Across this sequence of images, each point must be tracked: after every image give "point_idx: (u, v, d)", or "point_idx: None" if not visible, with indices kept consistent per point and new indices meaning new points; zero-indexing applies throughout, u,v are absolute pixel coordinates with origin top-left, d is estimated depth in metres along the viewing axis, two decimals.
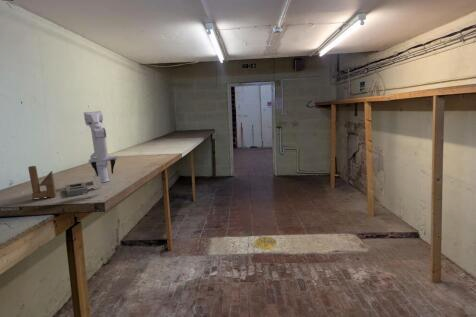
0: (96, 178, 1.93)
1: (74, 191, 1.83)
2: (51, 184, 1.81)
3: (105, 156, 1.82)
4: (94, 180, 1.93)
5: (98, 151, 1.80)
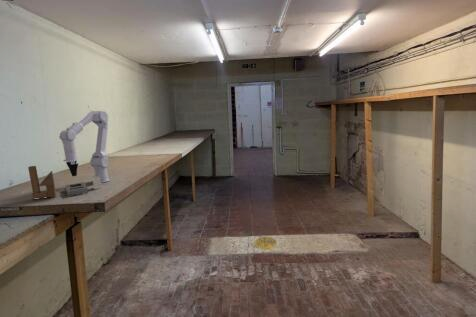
0: (96, 178, 1.93)
1: (74, 191, 1.83)
2: (51, 184, 1.81)
3: (66, 158, 1.87)
4: (94, 180, 1.93)
5: None
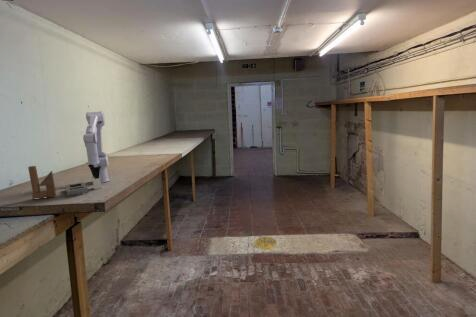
0: None
1: (74, 191, 1.83)
2: (51, 184, 1.81)
3: (89, 160, 1.90)
4: (94, 180, 1.93)
5: None
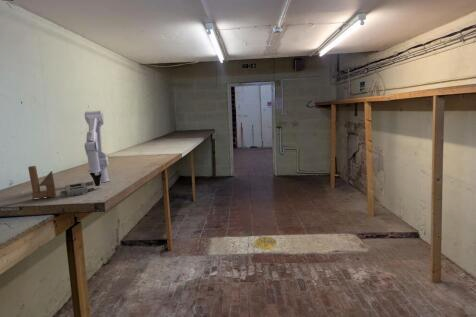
0: None
1: (74, 191, 1.83)
2: (51, 184, 1.81)
3: (90, 168, 1.91)
4: None
5: None
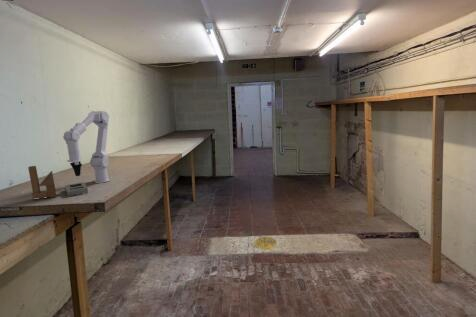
0: None
1: (74, 191, 1.83)
2: (51, 184, 1.81)
3: (70, 158, 1.88)
4: None
5: None
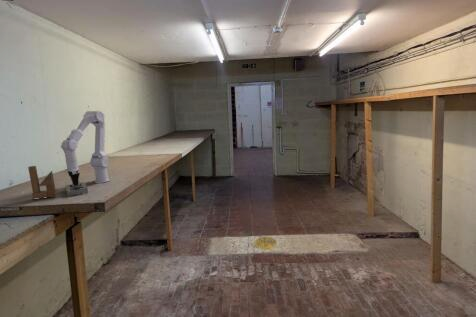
0: None
1: (74, 191, 1.83)
2: (51, 184, 1.81)
3: (68, 167, 1.89)
4: None
5: None
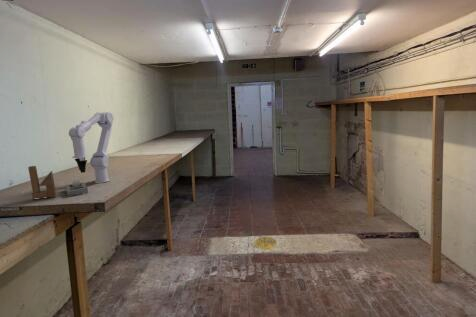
0: (75, 180, 1.91)
1: (74, 191, 1.83)
2: (51, 184, 1.81)
3: (75, 154, 1.91)
4: (73, 182, 1.91)
5: None
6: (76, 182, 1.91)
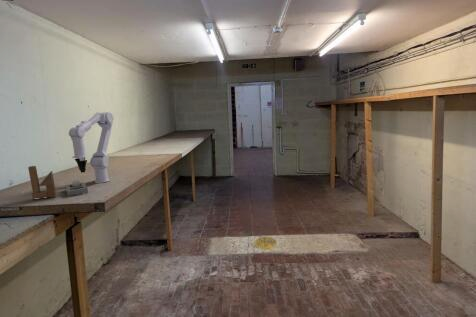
0: (75, 180, 1.91)
1: (74, 191, 1.83)
2: (51, 184, 1.81)
3: (75, 154, 1.91)
4: (73, 182, 1.91)
5: None
6: (76, 182, 1.91)
